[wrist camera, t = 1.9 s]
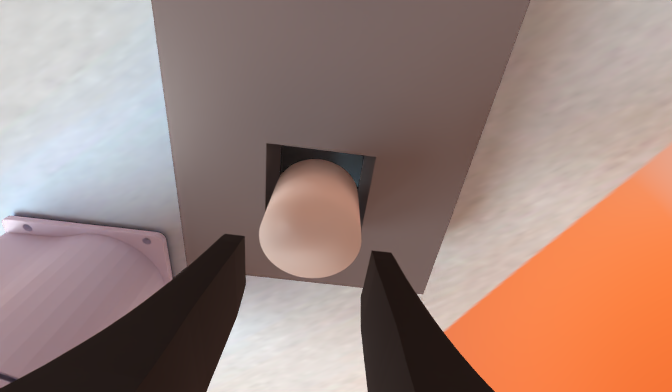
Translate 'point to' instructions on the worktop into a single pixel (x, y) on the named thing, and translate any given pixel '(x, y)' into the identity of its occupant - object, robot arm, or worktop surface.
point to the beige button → (312, 220)
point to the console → (330, 112)
